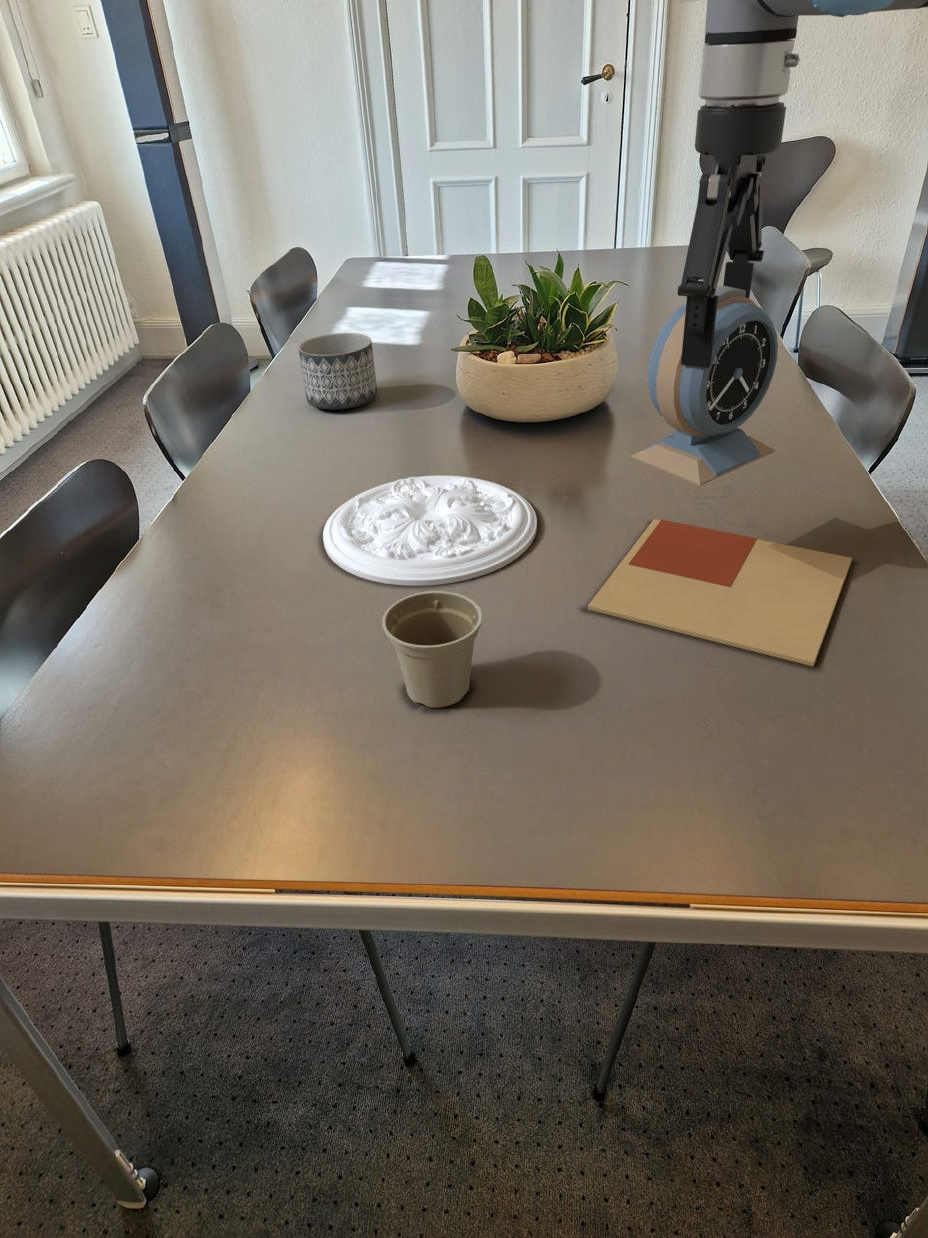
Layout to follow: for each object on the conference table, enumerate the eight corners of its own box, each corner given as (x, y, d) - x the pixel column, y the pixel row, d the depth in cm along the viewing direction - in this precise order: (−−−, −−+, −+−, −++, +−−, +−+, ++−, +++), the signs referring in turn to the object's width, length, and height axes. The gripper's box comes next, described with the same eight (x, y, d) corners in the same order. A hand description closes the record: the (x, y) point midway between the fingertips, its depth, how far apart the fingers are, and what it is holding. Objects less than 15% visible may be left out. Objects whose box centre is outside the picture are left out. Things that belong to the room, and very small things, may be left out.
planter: (374, 413, 147) (366, 353, 141) (301, 416, 148) (291, 356, 142) (381, 388, 157) (375, 331, 151) (314, 391, 158) (305, 334, 152)
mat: (851, 562, 99) (852, 556, 99) (813, 666, 84) (814, 661, 84) (653, 522, 110) (654, 517, 109) (587, 609, 94) (587, 604, 94)
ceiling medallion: (280, 559, 107) (276, 537, 105) (391, 470, 127) (389, 450, 126) (480, 605, 96) (479, 581, 95) (567, 499, 117) (568, 478, 115)
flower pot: (446, 648, 90) (440, 579, 85) (505, 689, 84) (503, 617, 79) (373, 687, 85) (362, 616, 80) (430, 734, 79) (422, 660, 74)
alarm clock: (693, 489, 87) (712, 312, 77) (624, 460, 94) (633, 294, 84) (780, 449, 94) (808, 282, 84) (710, 424, 101) (728, 267, 90)
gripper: (750, 115, 65) (717, 389, 77) (814, 88, 82) (779, 315, 94) (654, 116, 68) (638, 379, 80) (736, 90, 85) (712, 309, 97)
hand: (714, 345), depth 87 cm, fingers closed on alarm clock, 12 cm apart
